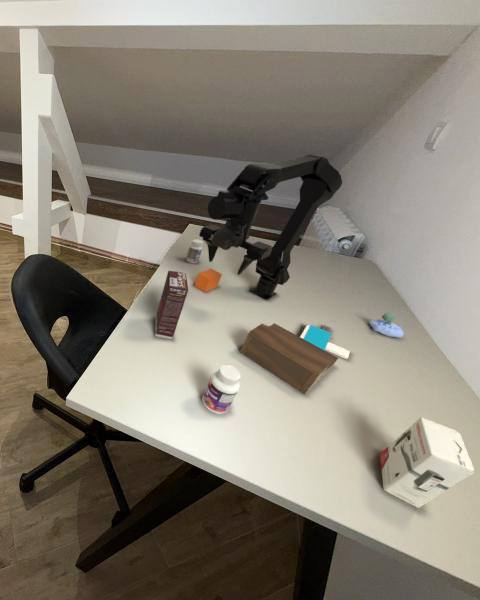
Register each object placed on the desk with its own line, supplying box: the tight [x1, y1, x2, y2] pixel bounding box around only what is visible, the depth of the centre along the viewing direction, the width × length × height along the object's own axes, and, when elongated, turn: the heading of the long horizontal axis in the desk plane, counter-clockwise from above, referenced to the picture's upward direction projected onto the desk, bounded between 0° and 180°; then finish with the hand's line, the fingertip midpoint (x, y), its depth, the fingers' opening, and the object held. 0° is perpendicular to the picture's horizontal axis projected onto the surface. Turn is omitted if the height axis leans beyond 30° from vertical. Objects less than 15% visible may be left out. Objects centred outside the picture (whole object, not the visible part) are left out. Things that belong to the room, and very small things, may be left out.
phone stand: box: [296, 324, 351, 360], centre depth 84 cm, size 20×12×2 cm, turn 136°
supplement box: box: [154, 270, 189, 340], centre depth 81 cm, size 9×5×16 cm, turn 168°
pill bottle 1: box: [185, 238, 204, 264], centre depth 121 cm, size 5×5×8 cm
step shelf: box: [239, 323, 339, 395], centre depth 77 cm, size 16×16×7 cm
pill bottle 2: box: [201, 364, 242, 415], centre depth 63 cm, size 5×5×10 cm
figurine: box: [369, 312, 405, 339], centre depth 91 cm, size 8×7×7 cm
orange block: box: [194, 268, 223, 293], centre depth 106 cm, size 7×4×5 cm, turn 126°
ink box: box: [379, 416, 475, 509], centre depth 52 cm, size 9×5×12 cm, turn 145°
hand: (224, 267), depth 91 cm, fingers open, 9 cm apart
